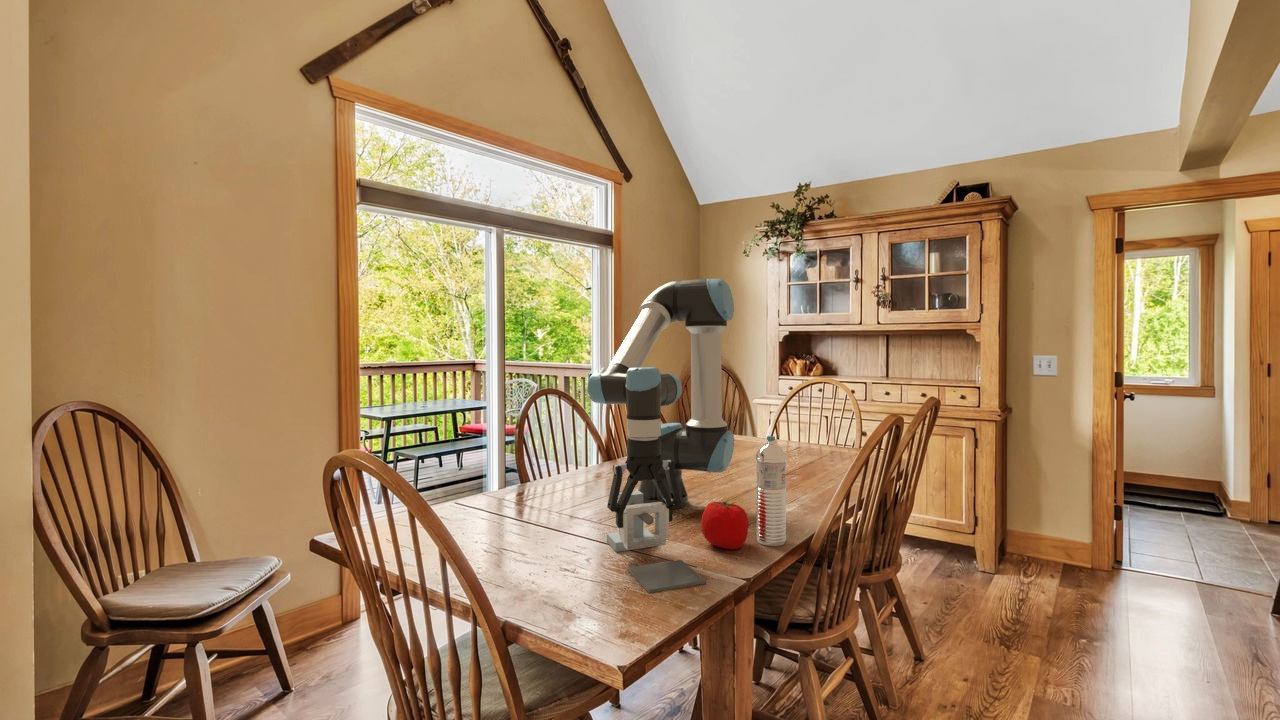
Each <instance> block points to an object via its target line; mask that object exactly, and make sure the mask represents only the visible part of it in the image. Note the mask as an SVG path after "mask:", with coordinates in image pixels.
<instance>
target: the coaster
mask: <svg viewBox="0 0 1280 720" xmlns="http://www.w3.org/2000/svg"><path fill="white" fill-rule="evenodd" d="M627 570H628V572H629V573H630V575H632V576H633V578H635V580H637V582H638V583H639V584H640V585H641V587H643V588H644V589H645V590H646V592H647V593H648V594H649V593H650V594H651V593H656V592H663V591H669V590H675V589H679V588H688V587H693V586H699V584H700V585H704V584H707V581H706V579H705V578H703V577H702V576H701V575H700V574H699V573H698V572H696V571H695V570H694V569H693V568H691V566H689V565H688V564H686V563H685V562H684V560H682V559H677V560H671V561H670V560H669V561H663V562H656V563H649V564H642V565H636V566H628V567H627Z"/></svg>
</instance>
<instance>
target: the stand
mask: <svg viewBox="0 0 1280 720" xmlns="http://www.w3.org/2000/svg"><path fill="white" fill-rule="evenodd" d="M621 494H622V492H619V497H618V499H619V498H620V496H621ZM635 504H643V493H641V492H640V491H638V490H633V492H632V494H631V497H630V499H629V501H628V503H627V505H635ZM654 522H655V517H654V516H652V514H651V513H646V514H637V515H634V538H640V537H648V536H655V535H654V534H653V533H652V532H651V531H649V529H647V528H644V523H645V524H646V525H648V526H650V525H653V523H654ZM618 530H619V531H618V532H617V531H615V532H609V533H606V543H607V544H608V545H609V546H610V547H611V549H612V550H613V551H615V552H623V551H628V550H627V549H626V548H625V547H624V543H623V542H622V541H621V540H620V528H618Z"/></svg>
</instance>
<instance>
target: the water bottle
mask: <svg viewBox="0 0 1280 720" xmlns="http://www.w3.org/2000/svg"><path fill="white" fill-rule="evenodd" d="M766 441H767V442H765V444H763V445H762V446H761V447H760V448H759V449H758V450H757V452H756V455H755V456H756V457H755V460H756V491H755V494H756V495H755V497H756V499H755V500H756V501H755V502H756V511H755V512H756V515H755V516H756V519H755V520H756V523H755V525H756V527H755V528H756V532H755V533H756V542H757V543H758V544H760V545H762V546H766V547H767V546H768V547H780V546H783V545H784V544H785V543H786V540H787V504H786V503H787V488H786V461H787V454H786V452H785V451H784V450H783V448H782V447H781V446H780V445H779V444H777V443H775V442H776V437H775V436H773V435H768V436H766Z"/></svg>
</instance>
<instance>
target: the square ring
mask: <svg viewBox="0 0 1280 720" xmlns="http://www.w3.org/2000/svg"><path fill="white" fill-rule="evenodd" d="M624 511H625V512H626V513H627V543H628V544H624V547H625V548H626V549H627V550H626V551H632V550H638V549H639V550H640V549H644V548H652V547H659V546H666V544H667V538H666V504H664V503H663V502H654V503H645V504H635V505H627V506H626V508H625V510H624ZM646 513H648V514H654V523H655V527H654V528H655V529H654V530H655V531H654V532H655V533H654V534H655V535H654V536H648V537H640V538H634V515H637V514H646Z"/></svg>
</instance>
